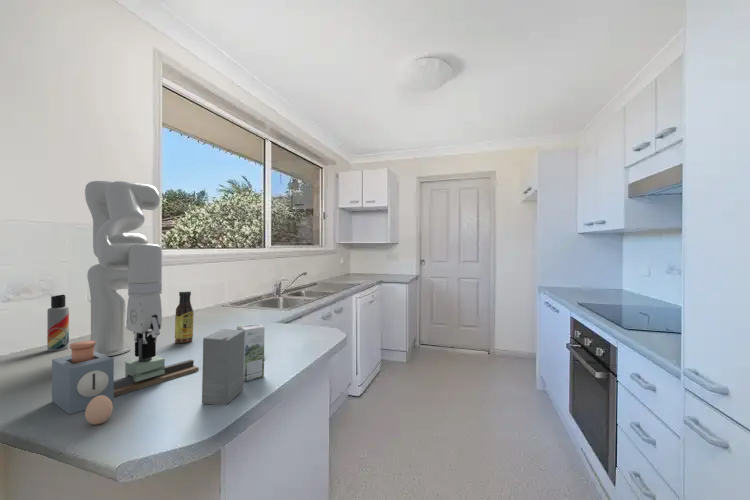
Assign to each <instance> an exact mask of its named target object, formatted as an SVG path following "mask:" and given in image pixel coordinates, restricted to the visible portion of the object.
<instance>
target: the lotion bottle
mask: <svg viewBox="0 0 750 500" xmlns="http://www.w3.org/2000/svg"><path fill="white" fill-rule="evenodd" d="M46 319H47V327H46V329H47V336H46V339H47V342H46V343H47V344H46V346H47V351H48V352H58V351H64V350H67V349H69V348H70V344H69V343H70V321H69V320H70V308H69V306H66V294H59V295H58V294H57V295H52V296H51V297H50V308H47V318H46Z"/></svg>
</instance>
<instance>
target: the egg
mask: <svg viewBox="0 0 750 500" xmlns="http://www.w3.org/2000/svg"><path fill="white" fill-rule="evenodd" d="M113 404H114V403H113V401H111V400H110V399H109V398H108V397H107V396H104V395H99V396H97V397H95V398H93V399H92V400H91V401H90V402H89V404H88V406H87V408H86V410H84V411H85V412H84V417H85V419H86V421H87V422H88V423H90V424H91V425H100V424H103V423H104V422H106V421H107V420H108V419H109V418H110V417H111V415H112V414H113V410H114V405H113Z"/></svg>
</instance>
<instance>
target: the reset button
mask: <svg viewBox="0 0 750 500" xmlns="http://www.w3.org/2000/svg"><path fill="white" fill-rule="evenodd" d="M95 345H96V341H91V340H81V341H76V342H73V343H70V344H69V349H70V350H71V355H72V364H75V363H80V362H84V361H89V360H93V359H94V346H95Z"/></svg>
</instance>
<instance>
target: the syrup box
mask: <svg viewBox="0 0 750 500" xmlns="http://www.w3.org/2000/svg"><path fill="white" fill-rule="evenodd" d="M236 330H243V331H245V337H244V370H243V383H244V382H249V381H252V380H256V379H260V378H264V376H265V326H263V325H262V324H260V323H251V324H245V325H238V326H236Z"/></svg>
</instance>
